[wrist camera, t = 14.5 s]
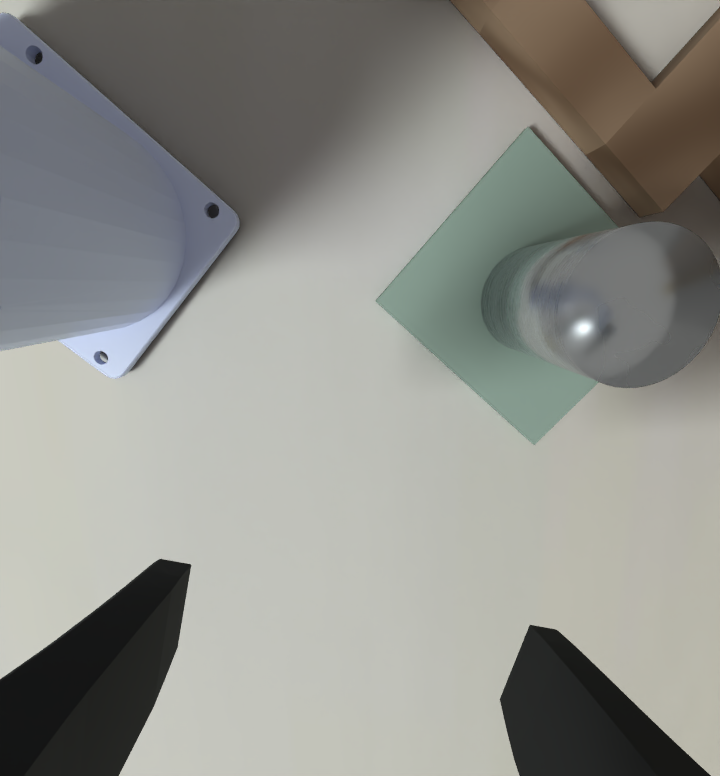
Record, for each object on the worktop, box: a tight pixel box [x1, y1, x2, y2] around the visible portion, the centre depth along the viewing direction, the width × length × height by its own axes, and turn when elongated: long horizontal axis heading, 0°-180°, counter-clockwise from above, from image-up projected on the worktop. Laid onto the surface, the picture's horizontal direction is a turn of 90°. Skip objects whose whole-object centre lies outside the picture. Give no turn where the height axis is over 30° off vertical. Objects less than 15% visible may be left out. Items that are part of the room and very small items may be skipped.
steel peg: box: [481, 222, 720, 388], centre depth 13 cm, size 4×4×6 cm
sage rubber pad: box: [376, 127, 618, 445], centre depth 16 cm, size 9×8×1 cm
